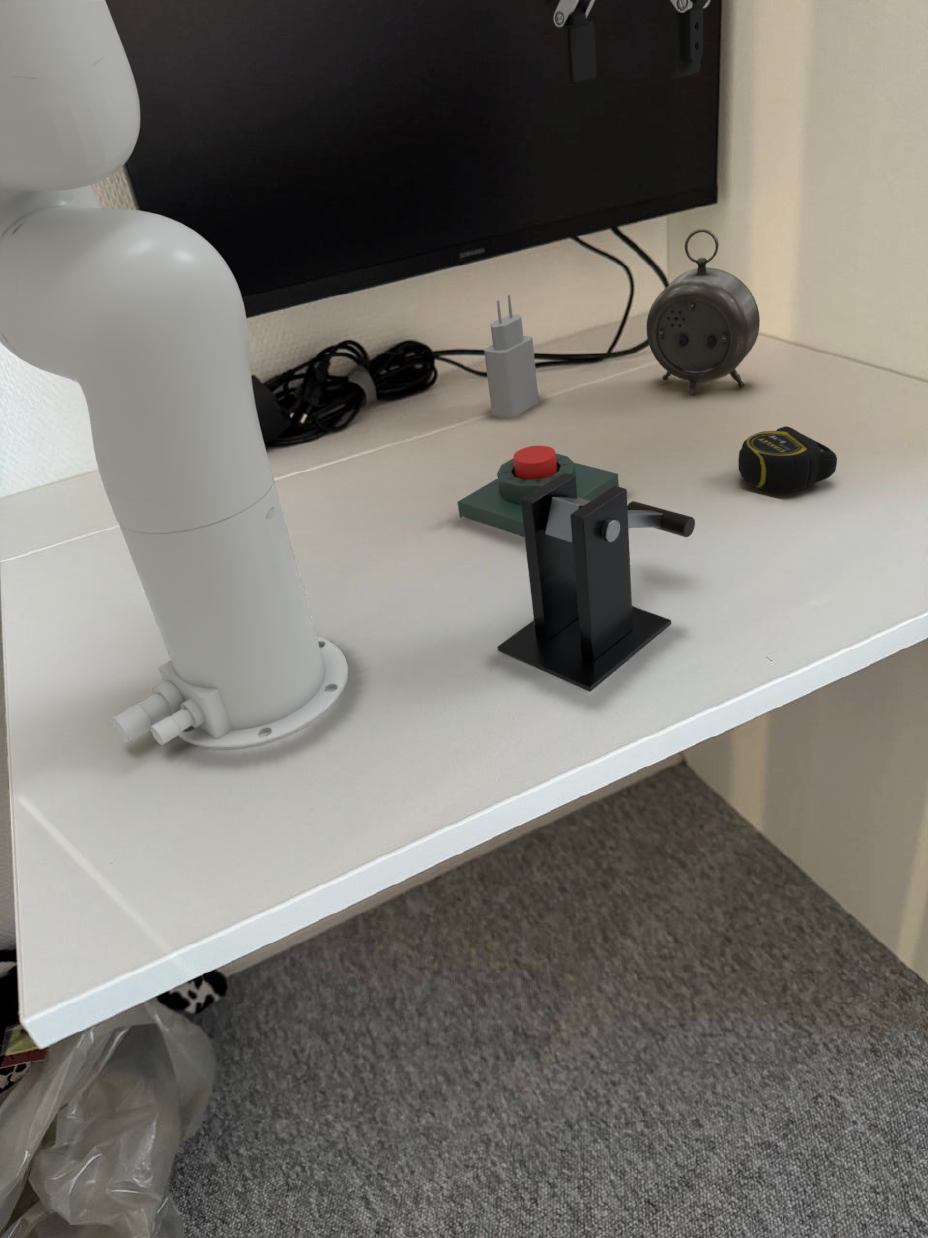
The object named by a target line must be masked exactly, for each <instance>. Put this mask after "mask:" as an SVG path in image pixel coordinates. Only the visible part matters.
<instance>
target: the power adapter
mask: <svg viewBox="0 0 928 1238" xmlns="http://www.w3.org/2000/svg"><path fill="white" fill-rule="evenodd" d="M507 303H508V305H507V306H508V314H509V315H506V316H504V317H502V311H501V306H500V300H499V299H497V300H496V306H497V307H496V308H497V318H498V319H497V320H495V321H493V322H491V323H490V324H489V325H490V333H491V341H492V344H491V345H489V346H487V347H486V348H484V349H483V352H484V353H483V354H484V360H485V368H486V377H487V384H488V385H487V386H488V393H489V400H490V409H491V414H492V416H494V417H499V418H504V419H513V418H516V417H517V416H519V415H521V414H523V413H524V412H525V411H528V410H529V409H531V408H532V407H533V406H536V405H537V404H539V392H538V391H539V390H538V379H537V371H536V360H535V349H534V338H533V336H530V335H524V330H523V320H522V315H521V314H517V313H516V314H513V308H512V301H511V294H507Z"/></svg>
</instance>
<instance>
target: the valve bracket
mask: <svg viewBox="0 0 928 1238" xmlns="http://www.w3.org/2000/svg"><path fill="white" fill-rule="evenodd" d="M552 497H576V498H578V497H577V484H576V476H575V475H572V474H568V473H563V474H561V475H559V476H558V477H556V478H554V479H553V480H551V481H550V482H548V483H546V484H545V485H543V486H541V487H540V488H538V489H537V490H535V491H533V492H532V493H530V494H528V495H527V496H525V497H524V498H522V499H521V500H520V502H521V511H522V519H523V528H524V537H523V538H524V543H525V544H524V546H525V553H526V561H527V571H528V580H529V581H528V582H529V589H530V597H531V607H532V615H533V620H532V621H531V622H529V623H528V624H526V625H525V626H523V628H521V629H519V630H518V631H517V632H515V633H514V634H513V635H512V636H510V637H509V638H507V639H506V640H504V641H503V642H501V644H499V645H498V646H497V651H498V652H500V653H502V654H504V655H507V656H509V657H512V658H514V659H516V660H518V661H520V662H523V663H525V664H527V665H530V666H531V667H534V668H536V669H539V670H540V671H542V672H545V673H547V674H550V675H552V676H553V677H556V678H559V679H561V680H563V681H564V682H567V683H569V684H572V685H574V686H576V687H579V688H581V689H583V690H586V691H587V692H592V691H593V690H594V689H595V688H597V687H598V686H599V685H600V684H601V683H603V682H604V681H605V680H607V678H609V677H610V676H611V675H613V673H614V672H616V671H617V670H618V669H620V668H621V667H622V666H623V665H625V663H627V662H628V661H629V660H630V659H632V657H634V656H635V655H636V654H637V653H639V652H640V651H641V650H642V649H643V648H645V647H646V646H647V645H648V644H649V643H651V642H652V641H653V640H654V639H656V638H657V636H659V635H660V634H661V633H663V632H664V631H665V630H666V629H667V628H668V627H670V626H671V625H672V619H669V618H666V617H664V616H661V615H659V614H656V613H652V612H650V611H647V610H644V609H641V608H638V607H636V606H633V601H632V599H633V598H632V596H633V595H632V579H631V577H632V576H631V575H632V574H631V553H630V552H631V551H630V533H629V529H630V528H628V507H627V506H628V489H627V488H625V487H620V486H619V487H617V486H613V487H611V488H610V489H608V490H607V491H605V492H604V493H602V494H601V495H599V496H598V497H596V498H595V499H593V500H592V501H590V502H589V503H587V504H585V505H584V506H582V507H581V508H579V509H578V510H576V511H575V512H573V513H572V514H571V515H570V519H571V531H572V543H571V542H568V541H565V540H562V539H559V538H556V537H553V536H550V535H547V534H545V531H546V526H547V521H548V516H549V511H550V506H551V501H552Z"/></svg>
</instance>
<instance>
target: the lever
mask: <svg viewBox="0 0 928 1238" xmlns="http://www.w3.org/2000/svg"><path fill="white" fill-rule="evenodd" d="M589 502H590V501H589V500H586V499H582V498H576V497H552V501H551V506H550V511H549V516H548V521H547V526H546V531H545V534H547V535H550V536H553V537H556V538H559V539H562V540H565V541H568V542H571V543H572V531H571V519H570V515H571V514H572V513H573V512H575V511H576V510H578V509H579V508H581V507H582V506H584V505H585V504H587V503H589ZM627 507H628V529H646V528H647V529H648V528H649V529H656V530H660V531H663V532H666V533H670V534H673V535H676V536H680V537H683V538H689V537H690V536H691V535H692V534H693V532H694V530H695V527H696V520H695V518H694V517H693V516H690V515H686V514H683V513H679V512H675V511H672V510H668V509H665V508H660V507H658V506H654V505H650V504H646V503H643V502H639V501H635V500H634V501H633V500H632V501H630V502H629V503H627Z"/></svg>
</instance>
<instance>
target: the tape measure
mask: <svg viewBox="0 0 928 1238" xmlns="http://www.w3.org/2000/svg"><path fill="white" fill-rule="evenodd" d="M737 460H738V461H737V462H738V463H737V464H738V472H739V473H740V477H741V478H742V479H743V480H744V481H745V483H747V484H749V485H750V486H752V487H755V488H757V489H760V490H762V491H769V492H774V493H775V492H776V493H787V492H795V491H796V492H797V491H801V490H805V488H808V487H810V486H812V485H814V484H816V483H818V482H821V481H825V480H827V479H829V478H831V476H833V475H834V473H836V471H837V470H836V469H837V465H838V457H837V454H836V453H835V452H834V451H833V450H832V449H831V448H829V447H828V446H826V445H825V444H822V443H820V442H819V441H816V440H815V439H813V438H811V437H809V436H807V435H805V434H803V433H801V432H799V431H798V430H796V429H794V428H792V427H791V426H782V427H779V428H777V429H776V430H765V431H760V432H756V433H753V434H752V435H750V436H748V437H747V438H746V439H745V440H744V441H742V444H741V448H740V450H739V452H738V459H737Z"/></svg>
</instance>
